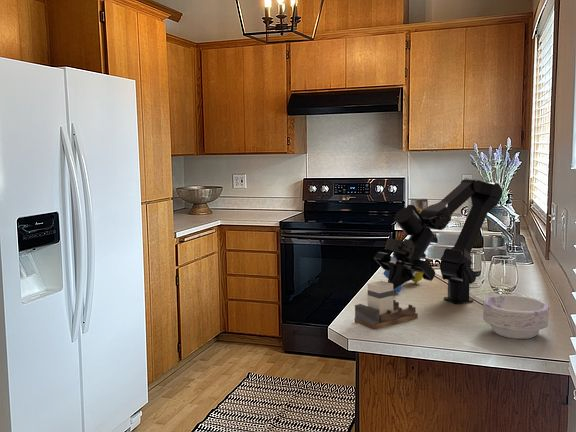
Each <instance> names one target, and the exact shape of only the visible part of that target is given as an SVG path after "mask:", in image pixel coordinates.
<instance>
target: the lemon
mask: <svg viewBox="0 0 576 432" xmlns="http://www.w3.org/2000/svg"><path fill="white" fill-rule="evenodd" d="M423 274H424V273H421V272H418V273H416V274H415V276H414V277H415V279H412V280H411V281H412V282H413V283H414V284H417V283H418V282H420V281H422V279H424V278H423V276H422V275H423Z"/></svg>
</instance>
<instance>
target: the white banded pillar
mask: <svg viewBox="0 0 576 432" xmlns="http://www.w3.org/2000/svg"><path fill="white" fill-rule="evenodd" d="M394 292H395V291H394V289H393V284H392V283H388V281H384V280H378V281H372V282H369V283H367V306H369V307H372V308H375V309H378V310H379V315H382V314H386V313H387V310H391V312H393V300H394V296H395V295H394Z"/></svg>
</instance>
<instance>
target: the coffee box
mask: <svg viewBox="0 0 576 432" xmlns="http://www.w3.org/2000/svg"><path fill="white" fill-rule="evenodd" d="M410 205H414V206H415V207H416V209H417V211H418V212H419V213H421V211H422V210H423V209H425V208H427V207H428V206H429V200H428V198H410Z"/></svg>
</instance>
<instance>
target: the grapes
mask: <svg viewBox="0 0 576 432" xmlns="http://www.w3.org/2000/svg"><path fill="white" fill-rule="evenodd" d="M391 257H392V258H395V259H396V257H394V256H393V255H392V256H391ZM389 272H390V271H387V270H384V272H382V274H383V276H384V277H385V278H386V279H388V278H389ZM393 290H394V292H395V293H396V294H399V293H400V292H401V291H402V290H403V286H402V285H400V286H398V287H397V288H395V289H393Z"/></svg>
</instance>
